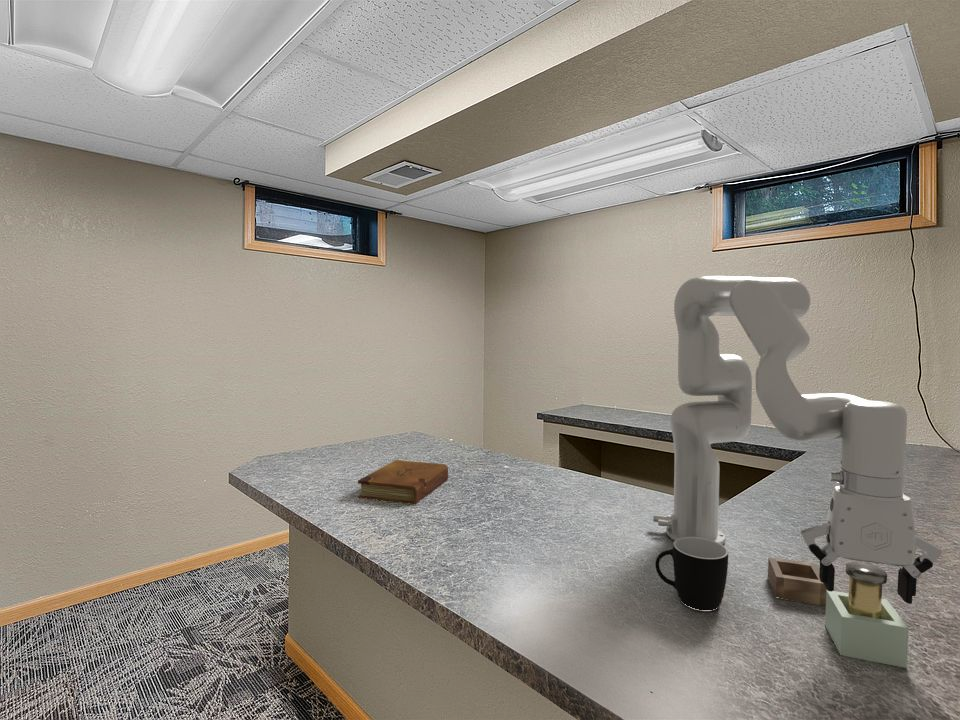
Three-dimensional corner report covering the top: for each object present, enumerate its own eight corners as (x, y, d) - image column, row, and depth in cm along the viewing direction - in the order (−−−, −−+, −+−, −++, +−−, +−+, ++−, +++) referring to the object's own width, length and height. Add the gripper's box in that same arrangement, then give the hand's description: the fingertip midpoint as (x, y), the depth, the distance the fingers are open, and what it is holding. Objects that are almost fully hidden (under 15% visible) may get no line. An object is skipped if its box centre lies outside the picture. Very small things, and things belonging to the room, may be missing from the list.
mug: (727, 596, 91) (729, 542, 90) (725, 622, 83) (727, 563, 82) (658, 580, 97) (659, 529, 96) (650, 603, 89) (651, 548, 88)
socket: (840, 655, 75) (841, 616, 74) (825, 625, 82) (826, 589, 82) (906, 668, 72) (908, 627, 71) (884, 635, 79) (886, 599, 79)
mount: (775, 597, 90) (776, 576, 90) (767, 577, 98) (768, 557, 97) (827, 606, 87) (828, 584, 87) (815, 584, 95) (816, 563, 95)
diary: (416, 507, 139) (416, 486, 138) (358, 500, 145) (357, 480, 144) (448, 481, 161) (447, 463, 160) (396, 476, 167) (395, 459, 166)
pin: (848, 651, 76) (851, 574, 75) (838, 631, 80) (841, 559, 79) (888, 658, 74) (893, 580, 73) (876, 638, 78) (879, 564, 78)
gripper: (809, 484, 75) (805, 594, 76) (957, 498, 69) (949, 618, 70) (798, 470, 82) (794, 572, 83) (930, 482, 76) (924, 591, 77)
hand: (865, 592), depth 76 cm, fingers open, 9 cm apart
